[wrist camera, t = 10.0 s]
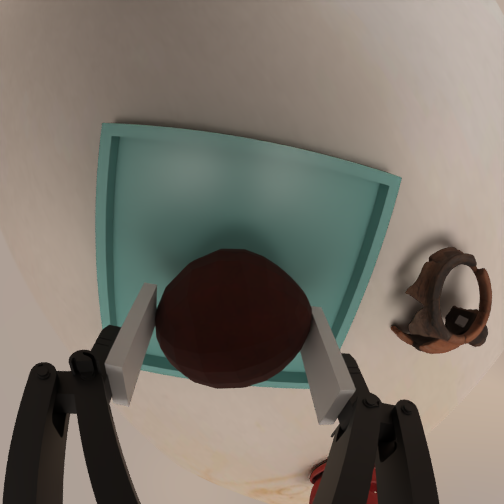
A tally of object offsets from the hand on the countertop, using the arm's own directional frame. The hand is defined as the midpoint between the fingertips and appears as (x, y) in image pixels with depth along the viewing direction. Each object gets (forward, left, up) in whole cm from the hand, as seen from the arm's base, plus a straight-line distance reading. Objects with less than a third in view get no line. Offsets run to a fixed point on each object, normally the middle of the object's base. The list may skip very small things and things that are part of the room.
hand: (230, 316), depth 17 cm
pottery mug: (0, +19, -6) cm, 20 cm away
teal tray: (0, 0, -5) cm, 5 cm away
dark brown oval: (0, 0, -4) cm, 4 cm away
